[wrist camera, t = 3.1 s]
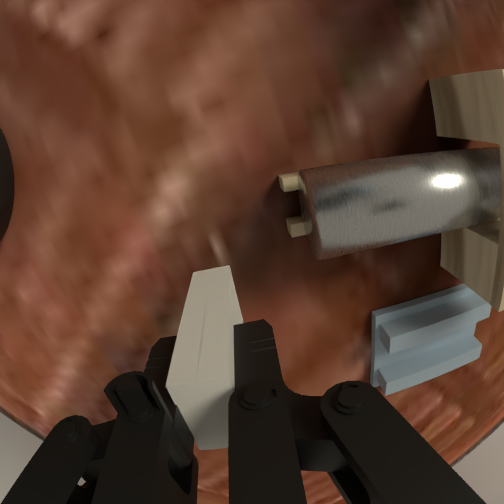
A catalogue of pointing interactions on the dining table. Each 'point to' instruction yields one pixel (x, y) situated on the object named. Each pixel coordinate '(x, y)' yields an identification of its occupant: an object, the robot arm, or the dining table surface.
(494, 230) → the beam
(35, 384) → the dining table surface
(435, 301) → the v block
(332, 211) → the axle
